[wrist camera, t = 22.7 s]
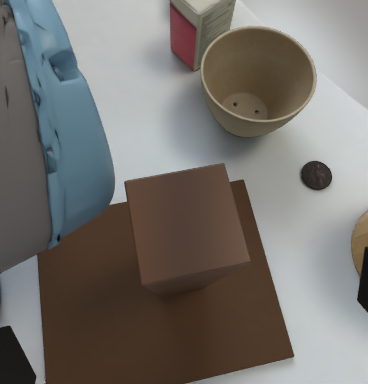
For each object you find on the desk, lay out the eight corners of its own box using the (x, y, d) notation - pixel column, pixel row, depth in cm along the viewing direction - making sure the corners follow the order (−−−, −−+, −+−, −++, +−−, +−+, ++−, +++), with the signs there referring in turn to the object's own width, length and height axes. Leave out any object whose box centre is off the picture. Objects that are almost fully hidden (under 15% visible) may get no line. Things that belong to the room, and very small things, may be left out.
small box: (201, 27, 39) (208, -39, 31) (226, 50, 38) (239, -13, 30) (168, 49, 38) (167, -15, 30) (193, 73, 37) (198, 14, 29)
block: (160, 297, 28) (141, 286, 11) (152, 251, 30) (123, 180, 13) (205, 287, 29) (251, 262, 12) (195, 243, 30) (224, 162, 13)
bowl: (235, 61, 37) (249, 7, 31) (307, 113, 35) (339, 68, 29) (176, 117, 35) (176, 72, 28) (250, 177, 33) (270, 144, 26)
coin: (328, 161, 34) (299, 161, 33) (329, 161, 33) (300, 160, 33) (333, 189, 33) (303, 189, 33) (334, 189, 32) (304, 188, 32)
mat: (50, 415, 26) (48, 417, 25) (36, 220, 31) (34, 219, 30) (292, 355, 28) (294, 356, 27) (242, 181, 33) (243, 179, 32)
